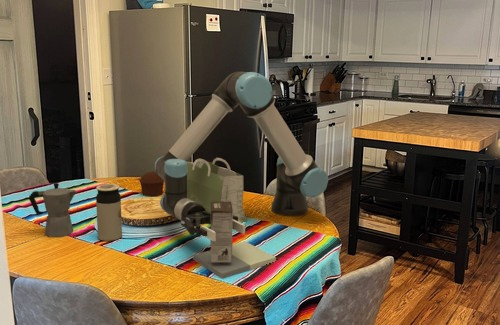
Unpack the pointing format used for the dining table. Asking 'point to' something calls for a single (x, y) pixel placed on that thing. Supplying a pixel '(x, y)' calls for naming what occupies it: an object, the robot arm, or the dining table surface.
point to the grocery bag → (215, 186)
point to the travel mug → (108, 212)
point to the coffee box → (221, 231)
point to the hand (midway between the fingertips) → (229, 233)
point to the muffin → (151, 184)
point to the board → (236, 260)
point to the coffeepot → (55, 210)
